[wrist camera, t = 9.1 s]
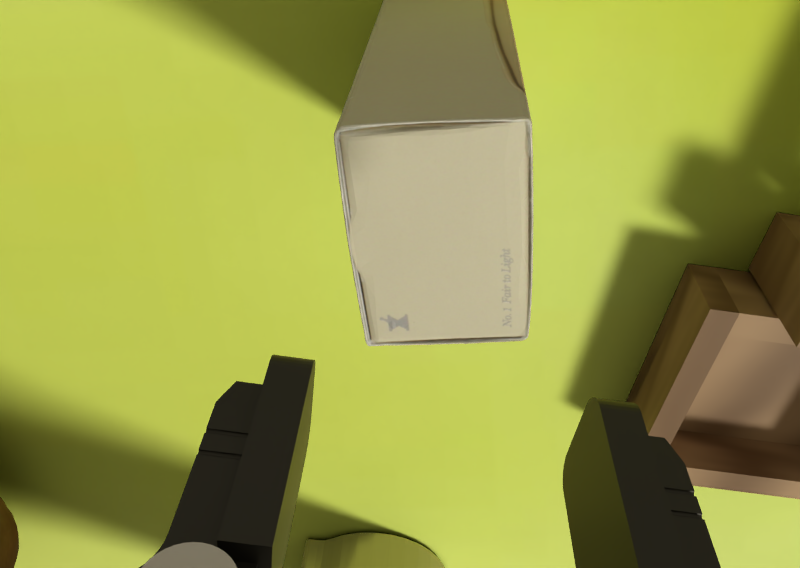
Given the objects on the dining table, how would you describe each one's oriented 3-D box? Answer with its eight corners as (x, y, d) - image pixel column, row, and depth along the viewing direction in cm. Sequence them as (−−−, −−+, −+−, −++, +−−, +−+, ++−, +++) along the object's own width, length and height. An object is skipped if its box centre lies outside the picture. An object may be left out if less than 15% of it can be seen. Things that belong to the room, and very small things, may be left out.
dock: (614, 427, 37) (636, 512, 33) (714, 203, 29) (760, 277, 25) (809, 452, 37) (855, 539, 33) (960, 238, 29) (1047, 317, 25)
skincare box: (504, 145, 28) (536, 349, 18) (392, 152, 28) (364, 355, 19) (503, -24, 24) (543, 116, 14) (375, -14, 25) (328, 130, 15)
